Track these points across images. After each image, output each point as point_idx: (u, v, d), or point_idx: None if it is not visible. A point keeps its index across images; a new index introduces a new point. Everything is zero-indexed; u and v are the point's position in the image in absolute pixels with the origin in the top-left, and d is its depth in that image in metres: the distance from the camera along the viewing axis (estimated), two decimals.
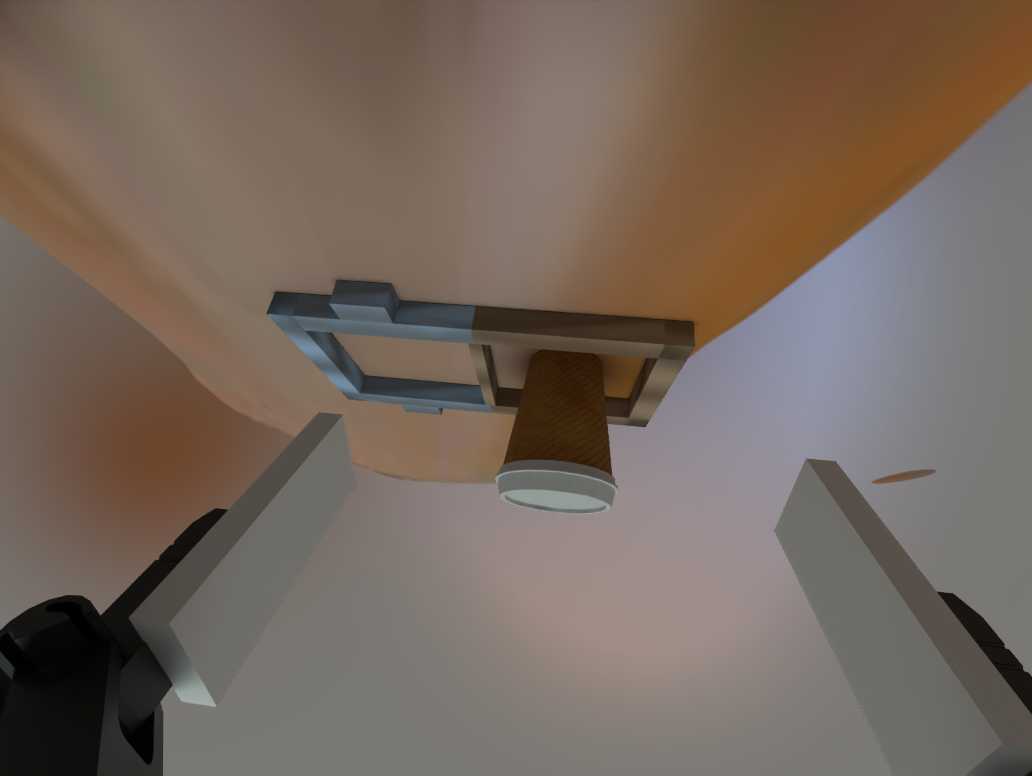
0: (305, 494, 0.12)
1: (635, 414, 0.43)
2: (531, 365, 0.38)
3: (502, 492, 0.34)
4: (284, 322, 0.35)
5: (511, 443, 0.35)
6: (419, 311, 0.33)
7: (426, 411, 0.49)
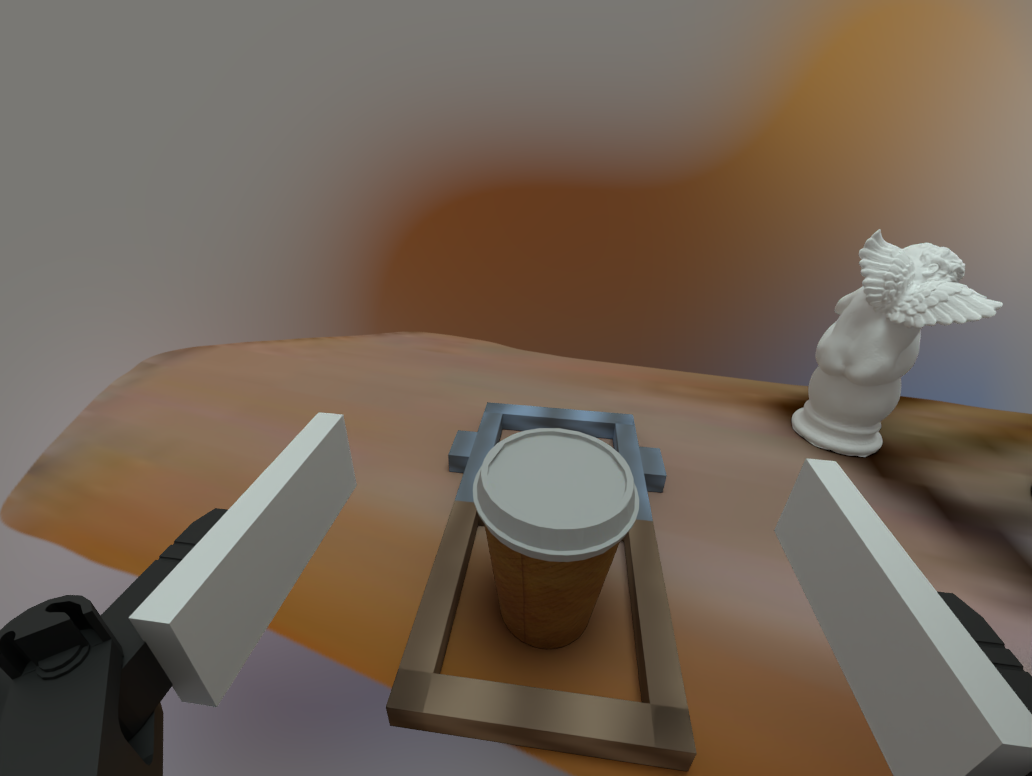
0: (305, 494, 0.12)
1: (449, 684, 0.25)
2: None
3: (584, 434, 0.29)
4: (623, 418, 0.49)
5: None
6: None
7: (458, 445, 0.44)
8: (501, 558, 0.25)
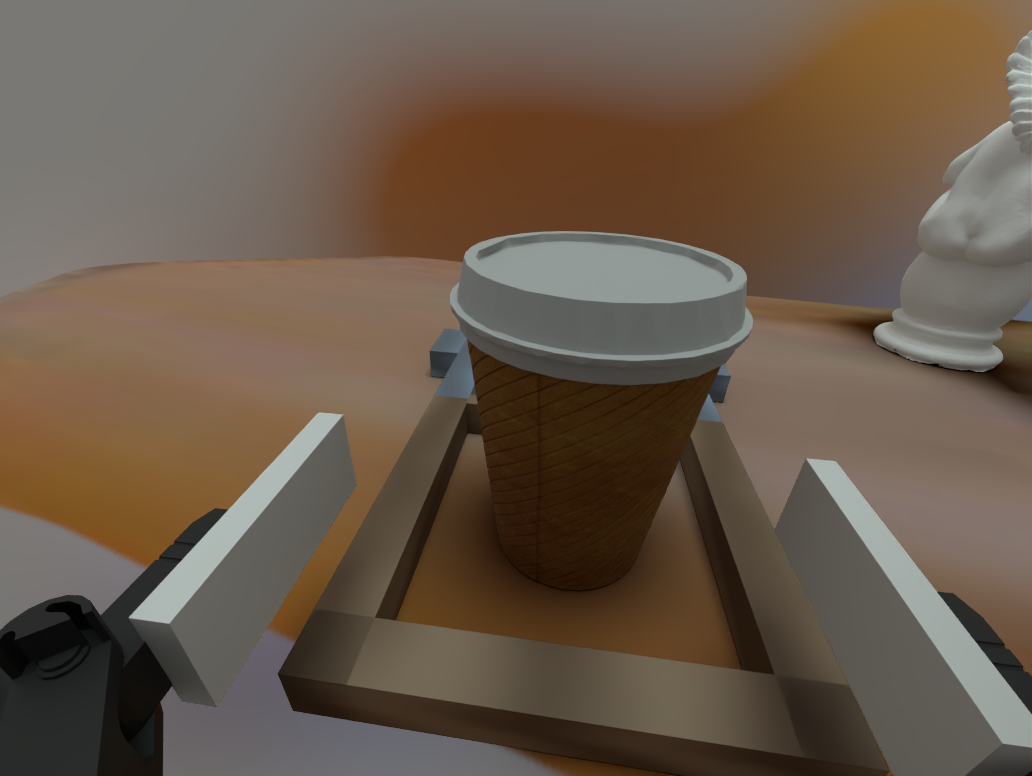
0: (305, 494, 0.12)
1: (402, 636, 0.14)
2: None
3: None
4: None
5: None
6: None
7: (443, 342, 0.33)
8: (499, 410, 0.14)
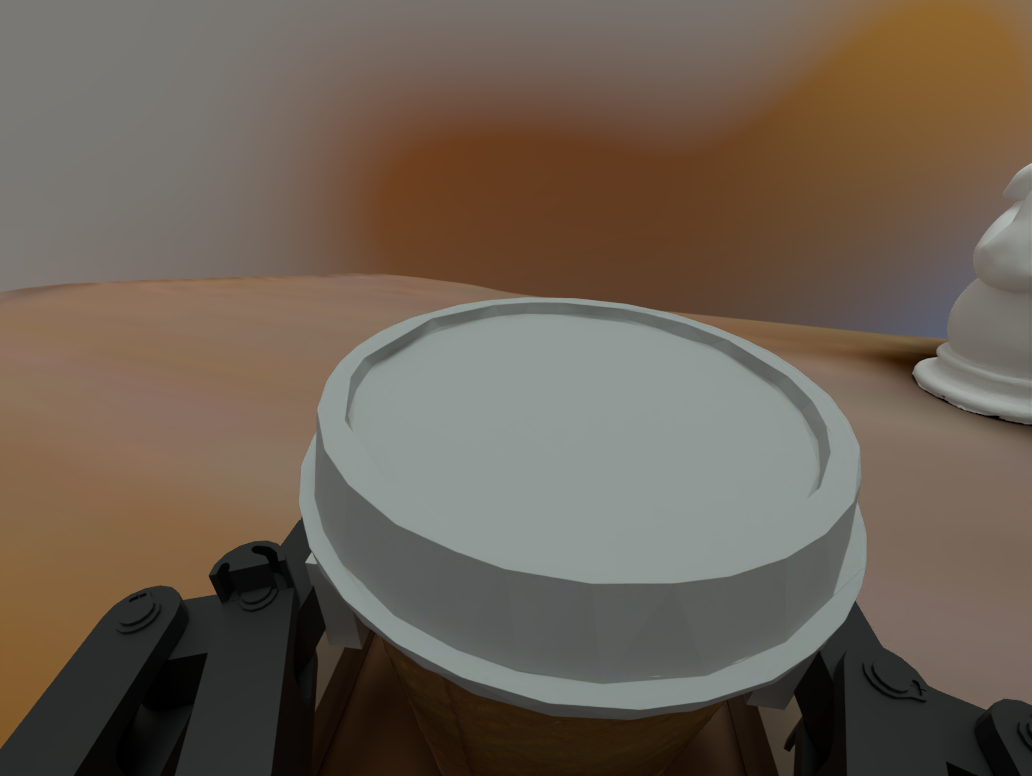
0: None
1: None
2: None
3: (641, 309, 0.11)
4: None
5: None
6: None
7: None
8: (392, 658, 0.08)
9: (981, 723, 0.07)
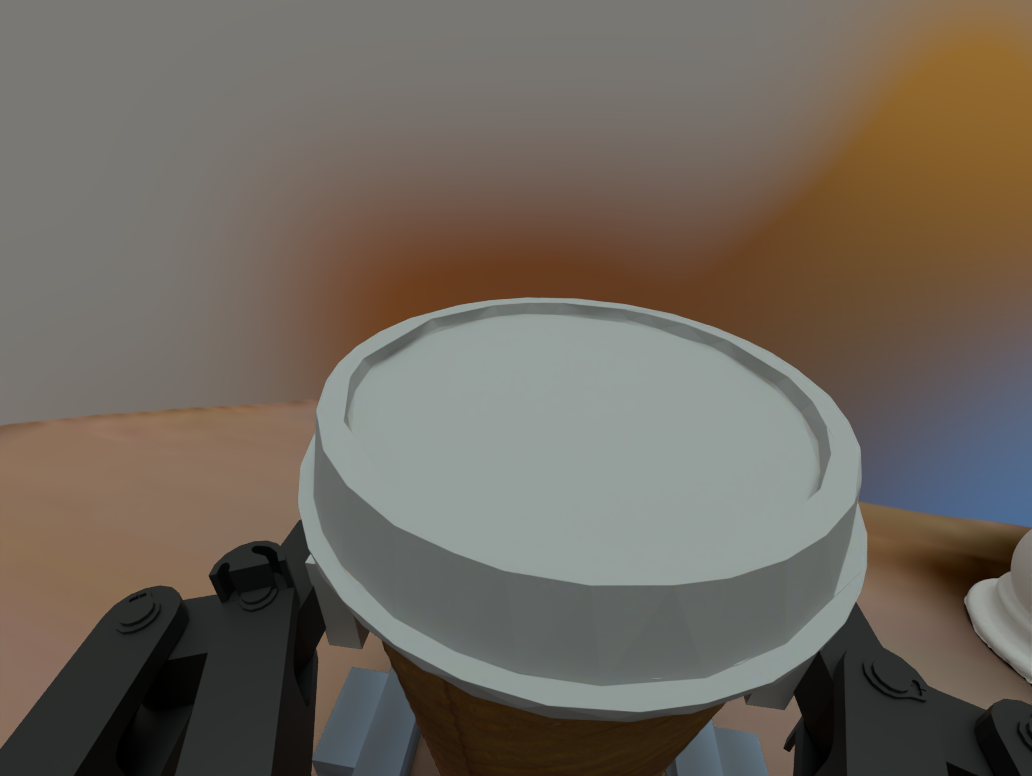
0: None
1: None
2: None
3: (641, 309, 0.11)
4: None
5: None
6: None
7: (340, 722, 0.21)
8: (392, 659, 0.08)
9: (981, 723, 0.07)
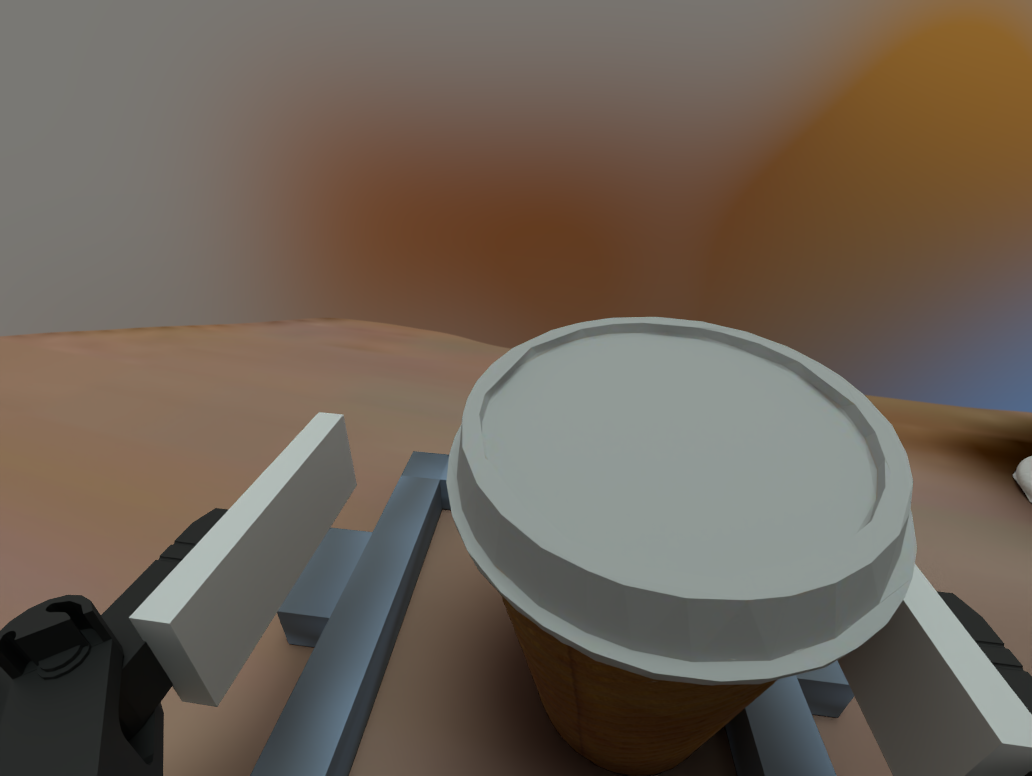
0: (305, 494, 0.12)
1: None
2: None
3: (717, 326, 0.12)
4: None
5: None
6: None
7: (313, 576, 0.18)
8: (519, 624, 0.10)
9: None
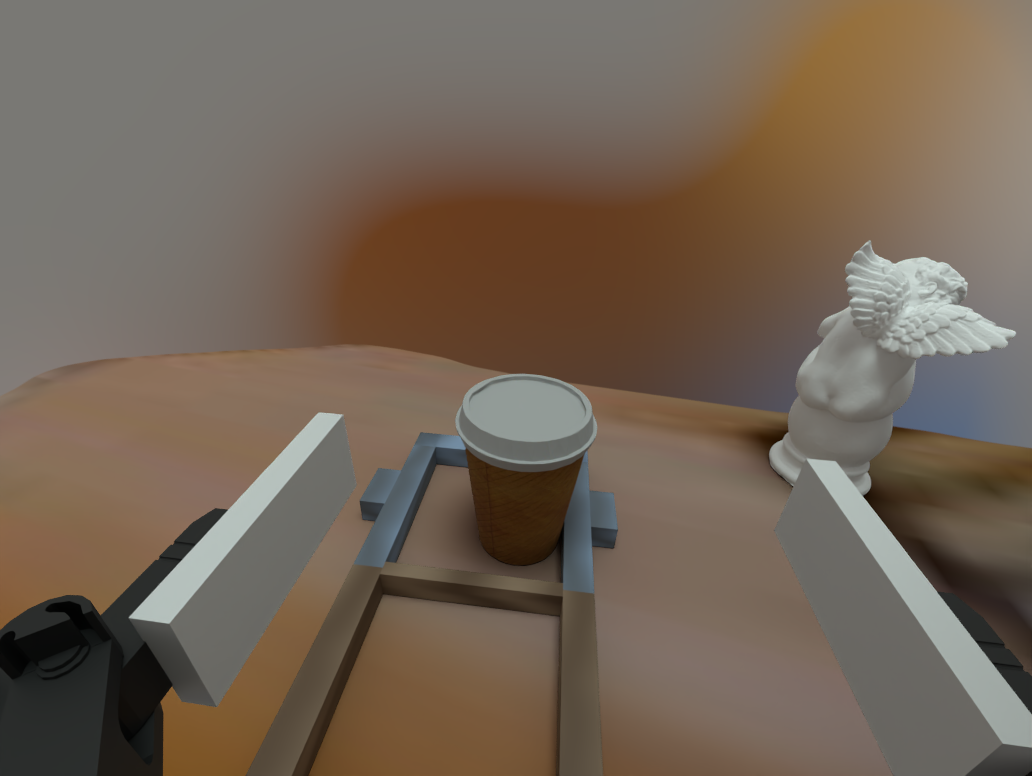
0: (305, 494, 0.12)
1: None
2: None
3: (562, 381, 0.33)
4: None
5: None
6: None
7: (374, 488, 0.37)
8: (473, 471, 0.30)
9: None
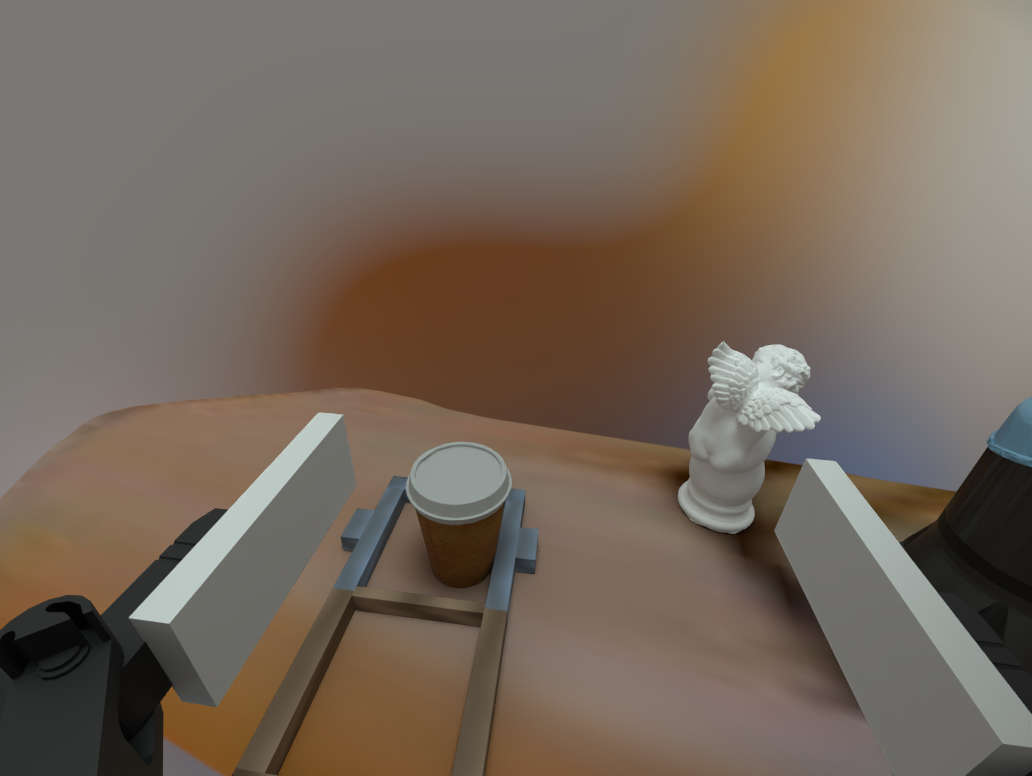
0: (305, 494, 0.12)
1: None
2: None
3: (490, 449, 0.44)
4: (515, 494, 0.53)
5: None
6: (512, 580, 0.44)
7: (352, 525, 0.48)
8: (419, 520, 0.41)
9: None
